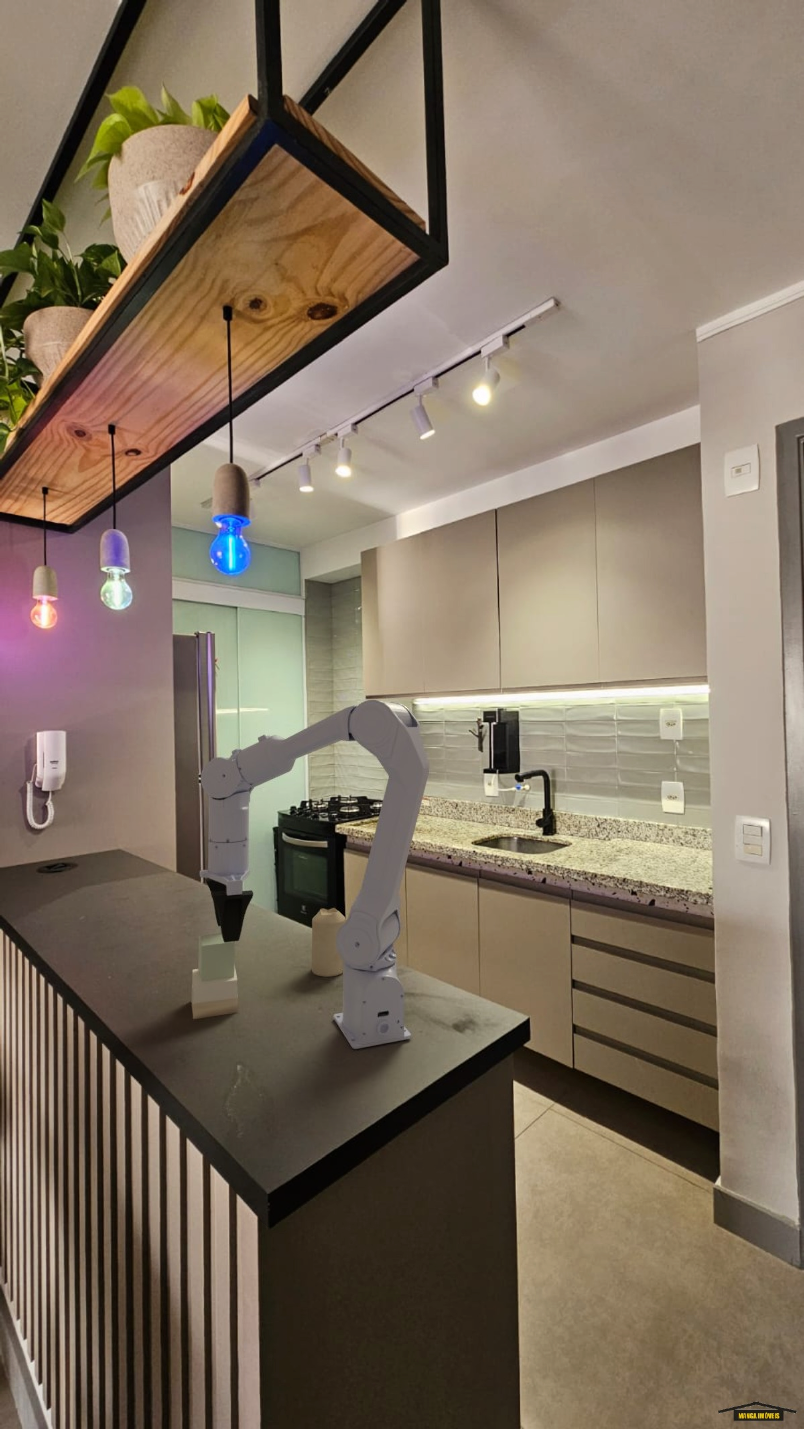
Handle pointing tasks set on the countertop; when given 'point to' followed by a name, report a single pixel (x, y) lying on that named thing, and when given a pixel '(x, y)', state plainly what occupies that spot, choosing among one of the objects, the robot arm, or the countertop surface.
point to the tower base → (214, 1007)
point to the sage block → (215, 957)
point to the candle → (326, 943)
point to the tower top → (213, 988)
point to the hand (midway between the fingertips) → (227, 932)
